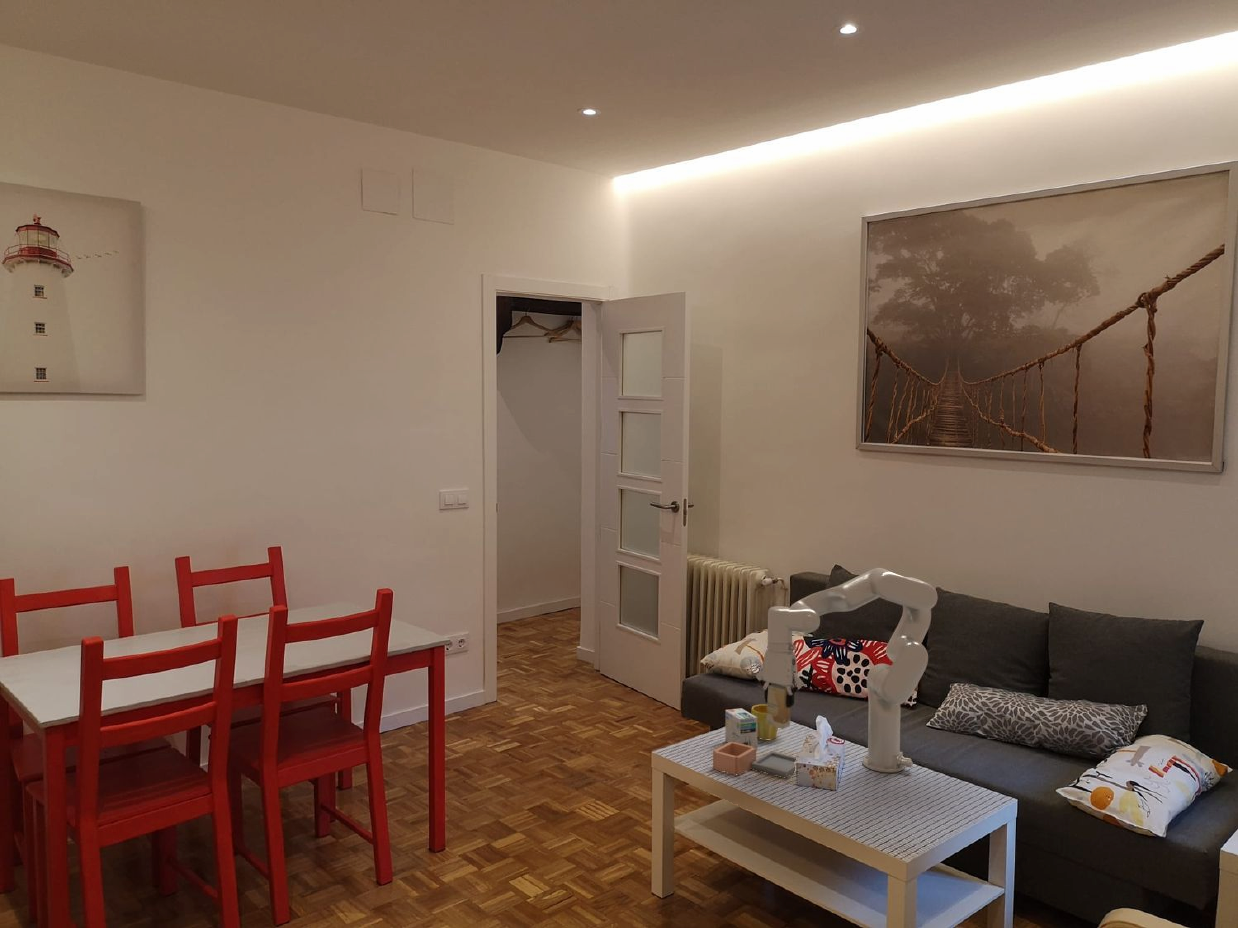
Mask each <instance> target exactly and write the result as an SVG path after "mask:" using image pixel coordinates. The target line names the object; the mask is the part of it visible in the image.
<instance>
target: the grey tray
mask: <svg viewBox="0 0 1238 928" xmlns="http://www.w3.org/2000/svg"><path fill="white" fill-rule="evenodd" d="M796 758H798V757H796V756H793V755H788V754H786V753H780V752H777V751H773V750H770V751H769V752H767V753H766V754H764V755H762V756H760V757H758V758H756V760H755V761H754V762H752V763H751V769H754V770H753V771H755V770H757V771H756V772H759V771H762V772H766V773H768V774H767V775H770V774H771V776H774V775H778V776H781V777H785V778H787V779H789V778H788V776H789V775H792V774H793V773H794V771H795V764H794V762H795V760H796ZM751 769H750V770H751ZM762 772H761V773H762ZM766 773H765V774H766ZM793 775H794V774H793ZM793 775H792V776H793ZM781 777H780V778H781ZM785 778H784V779H785Z"/></svg>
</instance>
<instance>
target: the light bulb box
mask: <svg viewBox="0 0 1238 928" xmlns="http://www.w3.org/2000/svg"><path fill="white" fill-rule="evenodd" d="M757 722H758V717H756V716H754V715H752V714H751V712H749V711H747V710H745V709H744V708H741V707H740V708H733V709H725V733H724V734H725V740H724V741H725V742H726V741H727V743H728V742H736V743H740V744H744V745H748V746H752V747H754V748H757V749H758V738H757Z"/></svg>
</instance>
